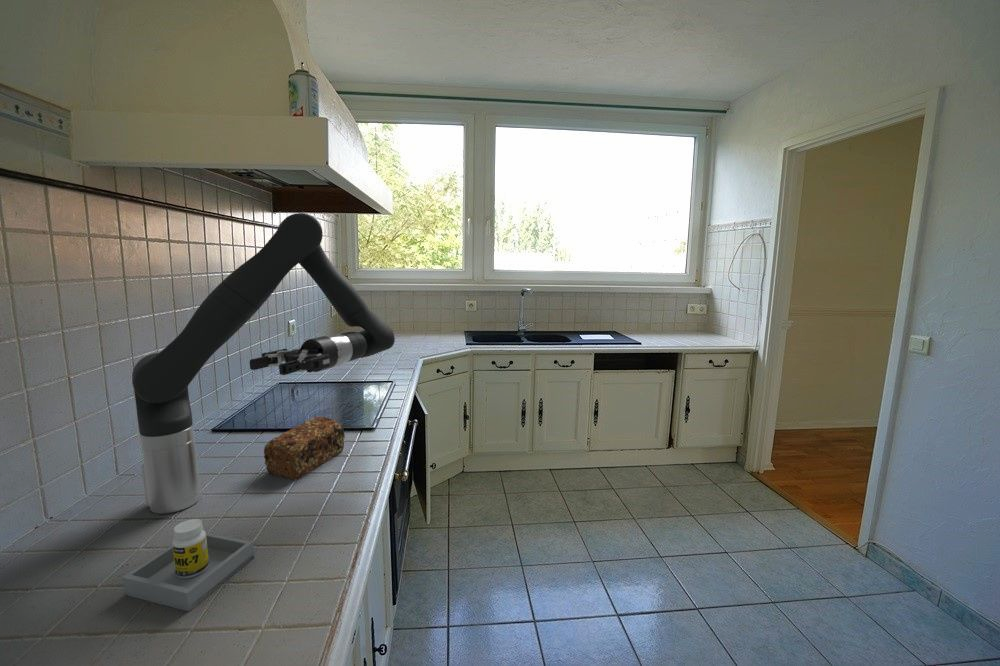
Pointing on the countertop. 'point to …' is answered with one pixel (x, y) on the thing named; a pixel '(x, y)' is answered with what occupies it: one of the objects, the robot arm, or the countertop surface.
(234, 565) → the bin
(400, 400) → the countertop surface
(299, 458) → the bread
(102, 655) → the countertop surface
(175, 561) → the supplement bottle
